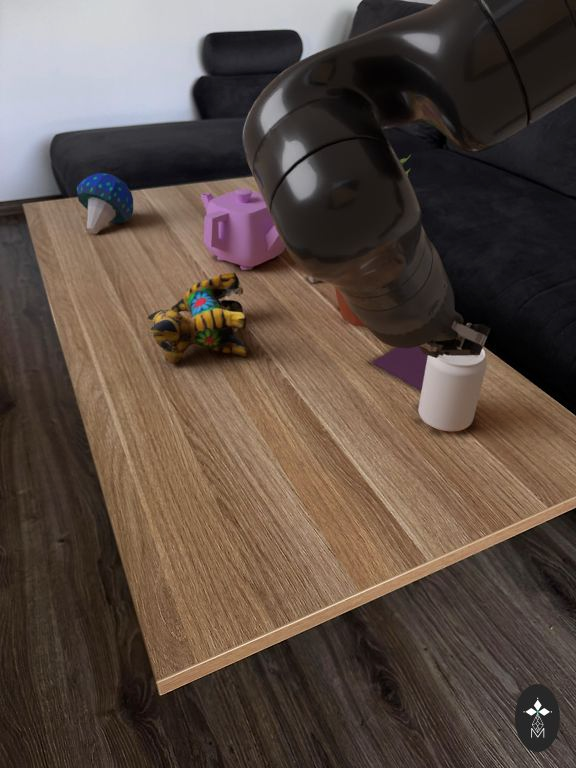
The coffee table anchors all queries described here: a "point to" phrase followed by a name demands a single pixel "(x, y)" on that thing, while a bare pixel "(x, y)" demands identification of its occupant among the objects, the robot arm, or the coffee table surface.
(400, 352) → the cloth
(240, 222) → the teapot
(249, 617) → the coffee table surface
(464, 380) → the beverage can
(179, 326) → the striped cat figurine
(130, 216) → the mushroom
